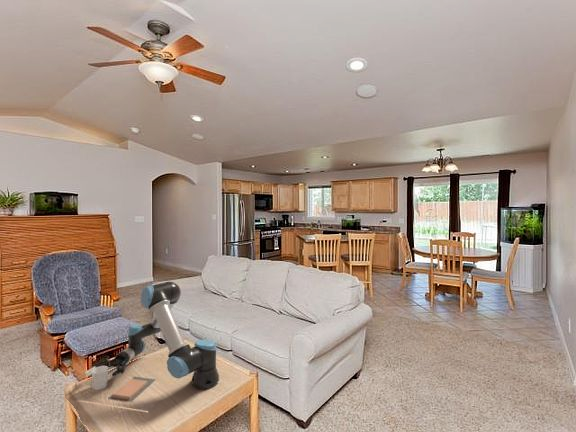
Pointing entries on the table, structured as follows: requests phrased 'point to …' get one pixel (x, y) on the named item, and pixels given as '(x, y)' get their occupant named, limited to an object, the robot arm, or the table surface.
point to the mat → (149, 382)
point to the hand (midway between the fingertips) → (95, 376)
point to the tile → (130, 389)
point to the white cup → (99, 377)
